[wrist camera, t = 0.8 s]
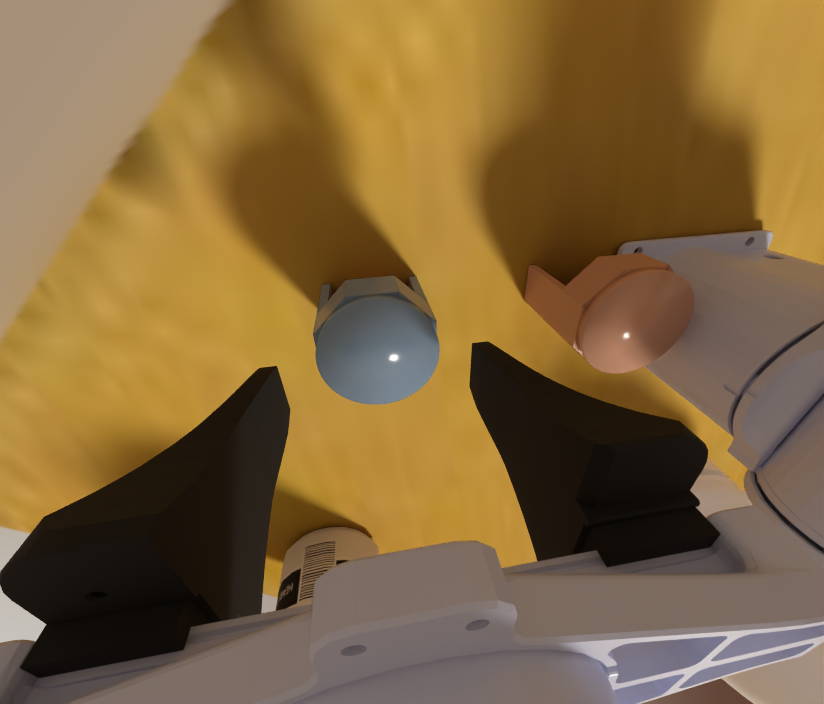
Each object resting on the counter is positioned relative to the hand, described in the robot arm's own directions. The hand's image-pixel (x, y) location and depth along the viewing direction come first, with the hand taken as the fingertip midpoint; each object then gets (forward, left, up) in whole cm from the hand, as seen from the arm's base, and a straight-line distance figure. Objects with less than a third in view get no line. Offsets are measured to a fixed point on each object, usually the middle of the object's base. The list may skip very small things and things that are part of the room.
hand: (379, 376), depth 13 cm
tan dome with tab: (-12, 0, -7) cm, 14 cm away
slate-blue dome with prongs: (0, 0, -7) cm, 7 cm away
